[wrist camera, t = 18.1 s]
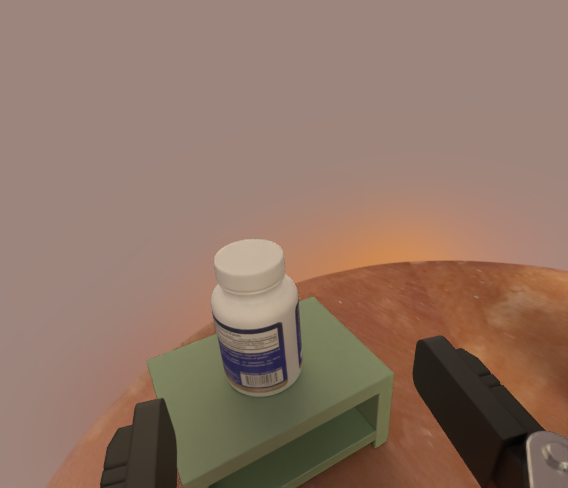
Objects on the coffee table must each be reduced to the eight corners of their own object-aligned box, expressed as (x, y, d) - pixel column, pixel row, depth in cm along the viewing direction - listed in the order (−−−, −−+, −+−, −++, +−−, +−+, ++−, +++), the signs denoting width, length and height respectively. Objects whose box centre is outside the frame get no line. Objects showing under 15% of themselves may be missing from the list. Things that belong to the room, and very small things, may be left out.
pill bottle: (256, 331, 29) (242, 226, 25) (316, 356, 26) (312, 244, 22) (208, 378, 25) (182, 265, 21) (272, 414, 23) (257, 291, 18)
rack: (315, 355, 36) (313, 295, 33) (387, 441, 28) (394, 373, 25) (166, 424, 31) (145, 359, 27) (204, 553, 23) (182, 485, 19)
